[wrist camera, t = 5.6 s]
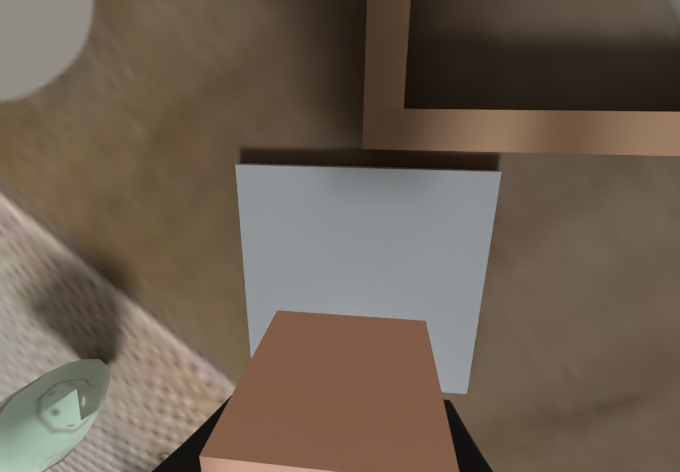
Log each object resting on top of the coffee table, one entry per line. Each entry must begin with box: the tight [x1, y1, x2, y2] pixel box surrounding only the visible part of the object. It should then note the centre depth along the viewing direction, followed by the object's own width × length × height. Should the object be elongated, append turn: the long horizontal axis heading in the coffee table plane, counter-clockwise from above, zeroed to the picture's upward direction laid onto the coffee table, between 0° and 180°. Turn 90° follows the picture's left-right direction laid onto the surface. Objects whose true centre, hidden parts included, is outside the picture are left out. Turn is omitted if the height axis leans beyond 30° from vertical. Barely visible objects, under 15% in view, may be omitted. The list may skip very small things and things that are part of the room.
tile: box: [235, 163, 501, 394], centre depth 18 cm, size 12×12×1 cm
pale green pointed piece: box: [0, 359, 110, 472], centre depth 19 cm, size 8×4×7 cm, turn 115°
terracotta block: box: [199, 310, 459, 472], centre depth 9 cm, size 4×4×5 cm
